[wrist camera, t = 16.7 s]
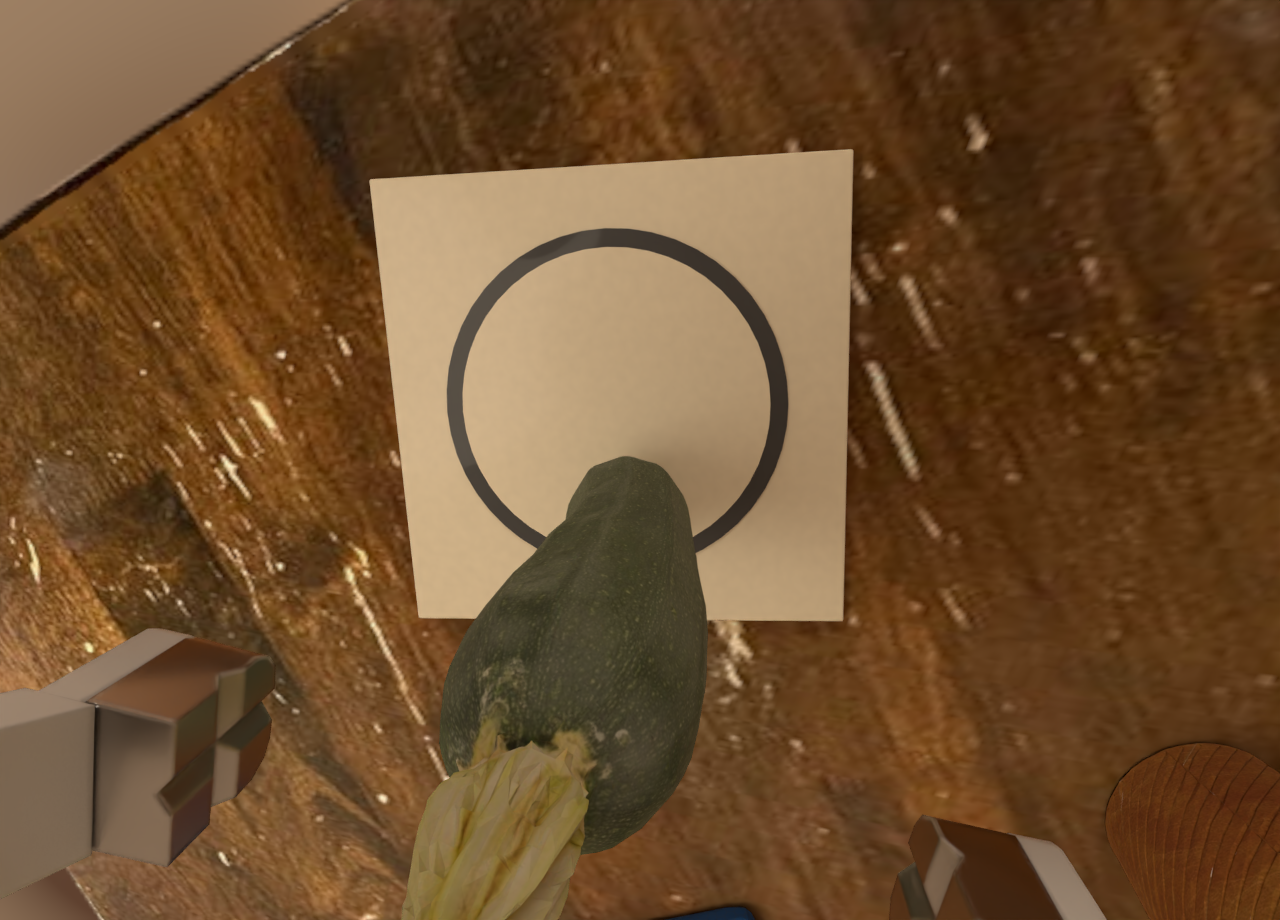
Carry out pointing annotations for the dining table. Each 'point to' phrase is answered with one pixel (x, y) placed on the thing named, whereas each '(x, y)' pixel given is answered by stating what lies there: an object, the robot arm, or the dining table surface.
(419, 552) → the board
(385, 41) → the dining table surface
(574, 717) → the vegetable
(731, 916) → the cell phone
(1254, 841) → the disposable coffee cup
